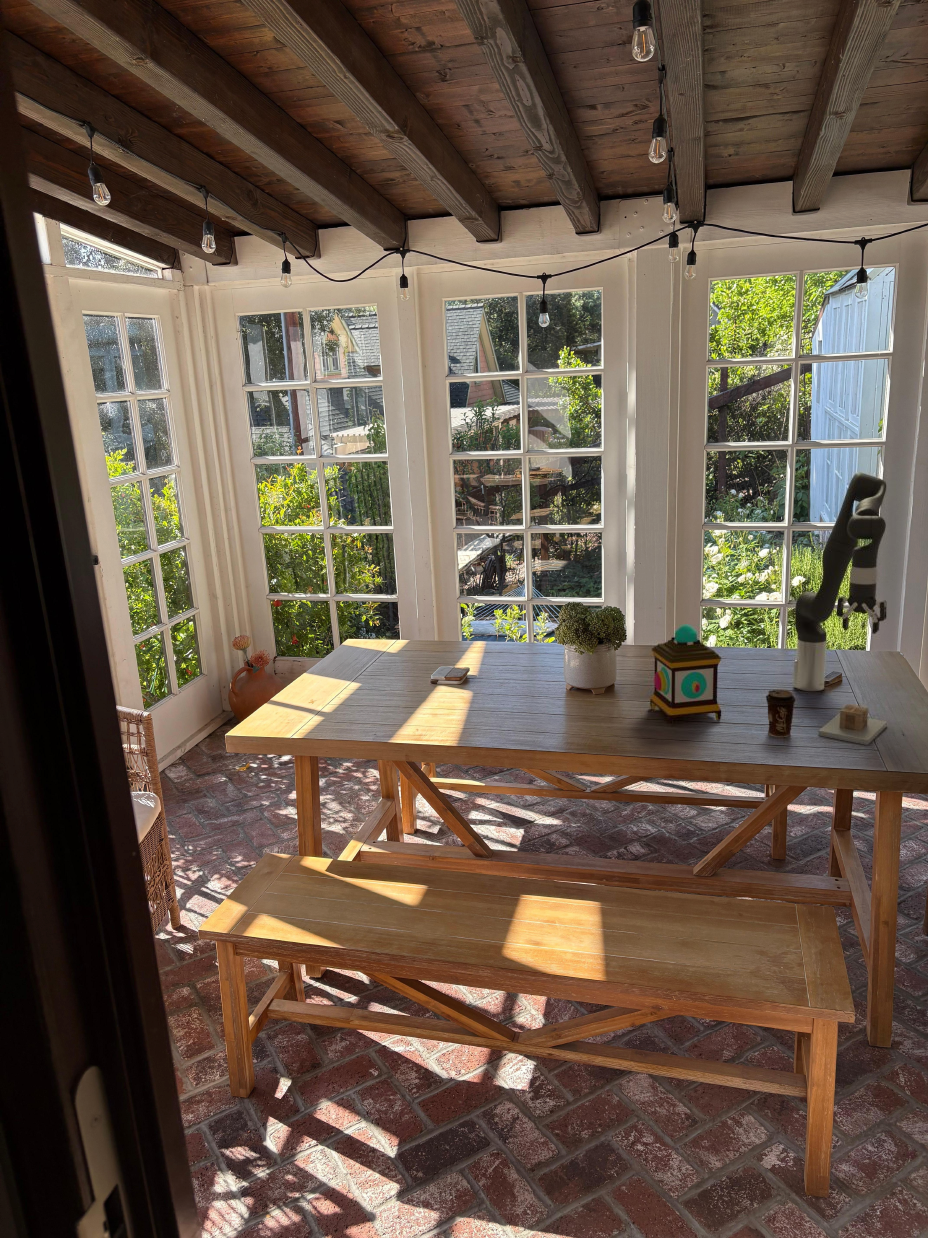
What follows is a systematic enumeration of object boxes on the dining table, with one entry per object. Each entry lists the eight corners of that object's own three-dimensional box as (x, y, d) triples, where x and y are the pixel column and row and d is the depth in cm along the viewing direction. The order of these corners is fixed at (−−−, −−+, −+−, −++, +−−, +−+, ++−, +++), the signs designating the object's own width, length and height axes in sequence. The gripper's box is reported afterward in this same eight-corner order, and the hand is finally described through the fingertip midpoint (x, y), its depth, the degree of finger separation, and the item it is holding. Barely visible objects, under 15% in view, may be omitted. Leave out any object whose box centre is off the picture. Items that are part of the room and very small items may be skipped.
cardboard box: (846, 721, 276) (847, 704, 275) (867, 724, 273) (868, 707, 271) (839, 727, 272) (840, 710, 270) (860, 731, 268) (861, 714, 266)
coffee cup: (760, 729, 277) (762, 688, 274) (788, 728, 277) (790, 687, 274) (769, 739, 269) (770, 698, 266) (797, 738, 269) (799, 697, 266)
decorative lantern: (666, 728, 282) (667, 635, 275) (644, 707, 301) (644, 619, 294) (727, 721, 285) (729, 629, 278) (701, 701, 304) (703, 614, 297)
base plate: (818, 735, 270) (818, 730, 270) (839, 717, 284) (839, 713, 283) (867, 745, 261) (867, 740, 261) (886, 726, 275) (886, 721, 274)
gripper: (891, 580, 277) (887, 631, 281) (843, 576, 286) (840, 626, 290) (883, 585, 271) (880, 637, 275) (835, 580, 281) (832, 631, 284)
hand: (860, 631), depth 283 cm, fingers open, 8 cm apart
